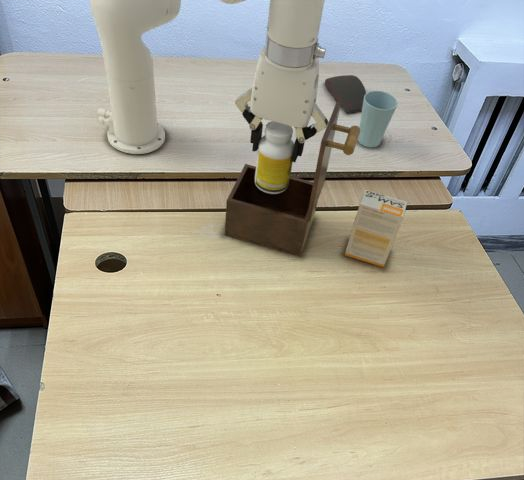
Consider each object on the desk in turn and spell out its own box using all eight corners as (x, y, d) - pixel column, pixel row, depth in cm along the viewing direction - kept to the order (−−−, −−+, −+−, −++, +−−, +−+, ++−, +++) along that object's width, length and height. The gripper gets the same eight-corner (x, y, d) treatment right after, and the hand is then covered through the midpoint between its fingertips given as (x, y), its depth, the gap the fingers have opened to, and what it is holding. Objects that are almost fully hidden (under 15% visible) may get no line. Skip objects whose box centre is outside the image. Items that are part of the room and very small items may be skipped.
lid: (321, 139, 83) (353, 147, 83) (336, 101, 90) (366, 108, 89) (306, 220, 97) (333, 227, 96) (320, 182, 103) (346, 188, 103)
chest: (224, 235, 106) (226, 199, 98) (242, 198, 112) (245, 163, 105) (300, 256, 104) (307, 222, 97) (313, 219, 111) (321, 184, 104)
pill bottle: (285, 199, 98) (294, 143, 88) (250, 191, 98) (256, 135, 89) (291, 177, 102) (301, 121, 92) (258, 169, 102) (264, 113, 92)
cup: (369, 127, 132) (381, 86, 123) (390, 144, 129) (404, 104, 120) (346, 136, 129) (357, 95, 120) (368, 154, 126) (380, 113, 117)
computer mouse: (346, 81, 143) (350, 66, 140) (371, 110, 136) (376, 95, 133) (320, 85, 140) (323, 70, 137) (344, 114, 134) (347, 99, 130)
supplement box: (387, 252, 108) (409, 201, 97) (383, 268, 105) (404, 217, 94) (348, 239, 108) (365, 187, 98) (343, 255, 106) (359, 203, 95)
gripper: (351, 51, 81) (327, 153, 96) (242, 23, 82) (235, 128, 97) (341, 75, 77) (318, 178, 91) (227, 45, 78) (222, 151, 93)
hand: (275, 151), depth 94 cm, fingers closed on pill bottle, 6 cm apart
